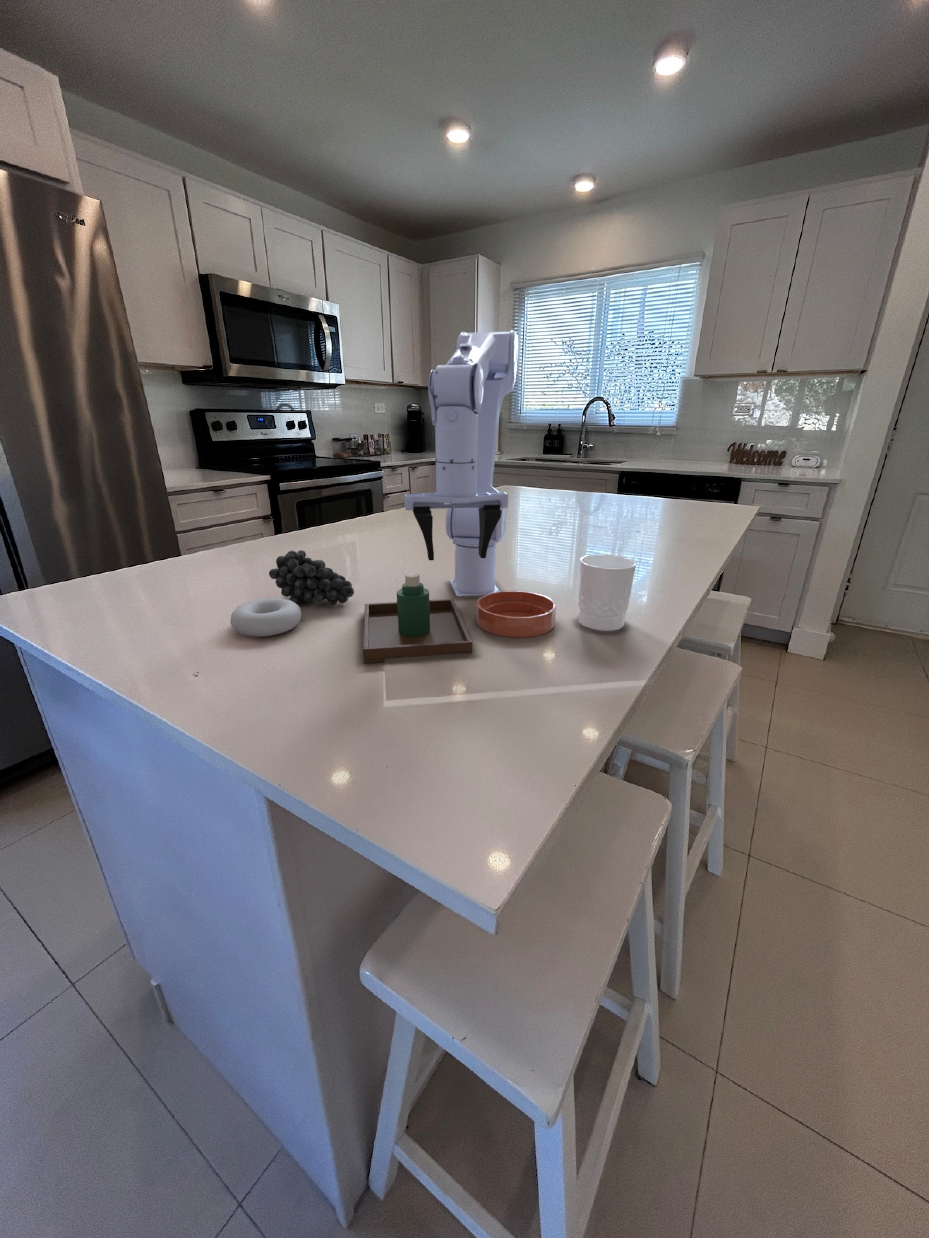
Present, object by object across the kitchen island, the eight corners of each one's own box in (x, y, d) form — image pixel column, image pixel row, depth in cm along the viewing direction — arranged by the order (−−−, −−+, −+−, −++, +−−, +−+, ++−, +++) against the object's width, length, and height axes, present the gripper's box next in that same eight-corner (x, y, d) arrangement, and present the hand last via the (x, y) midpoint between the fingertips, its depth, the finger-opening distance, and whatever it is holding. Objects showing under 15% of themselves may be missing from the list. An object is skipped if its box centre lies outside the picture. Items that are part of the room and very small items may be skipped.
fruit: (358, 551, 82) (286, 540, 88) (329, 579, 77) (253, 566, 82) (370, 593, 88) (301, 580, 93) (344, 623, 82) (272, 607, 88)
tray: (365, 615, 81) (364, 603, 80) (453, 610, 83) (453, 598, 83) (364, 663, 65) (362, 649, 65) (472, 655, 68) (472, 642, 67)
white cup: (629, 637, 74) (639, 570, 70) (574, 632, 75) (580, 567, 71) (625, 617, 81) (633, 556, 77) (574, 613, 82) (580, 553, 78)
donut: (269, 646, 70) (316, 620, 79) (265, 623, 69) (314, 599, 77) (217, 634, 74) (268, 610, 83) (212, 612, 73) (264, 590, 81)
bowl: (470, 613, 82) (470, 592, 81) (540, 609, 84) (541, 589, 83) (485, 643, 71) (485, 620, 70) (565, 637, 73) (567, 615, 72)
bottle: (397, 625, 76) (395, 570, 73) (428, 623, 77) (427, 569, 73) (399, 638, 72) (396, 580, 68) (431, 636, 72) (430, 578, 69)
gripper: (405, 465, 65) (409, 567, 70) (514, 463, 67) (511, 562, 72) (402, 460, 72) (406, 554, 77) (502, 459, 74) (500, 550, 79)
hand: (456, 557), depth 75 cm, fingers open, 7 cm apart
